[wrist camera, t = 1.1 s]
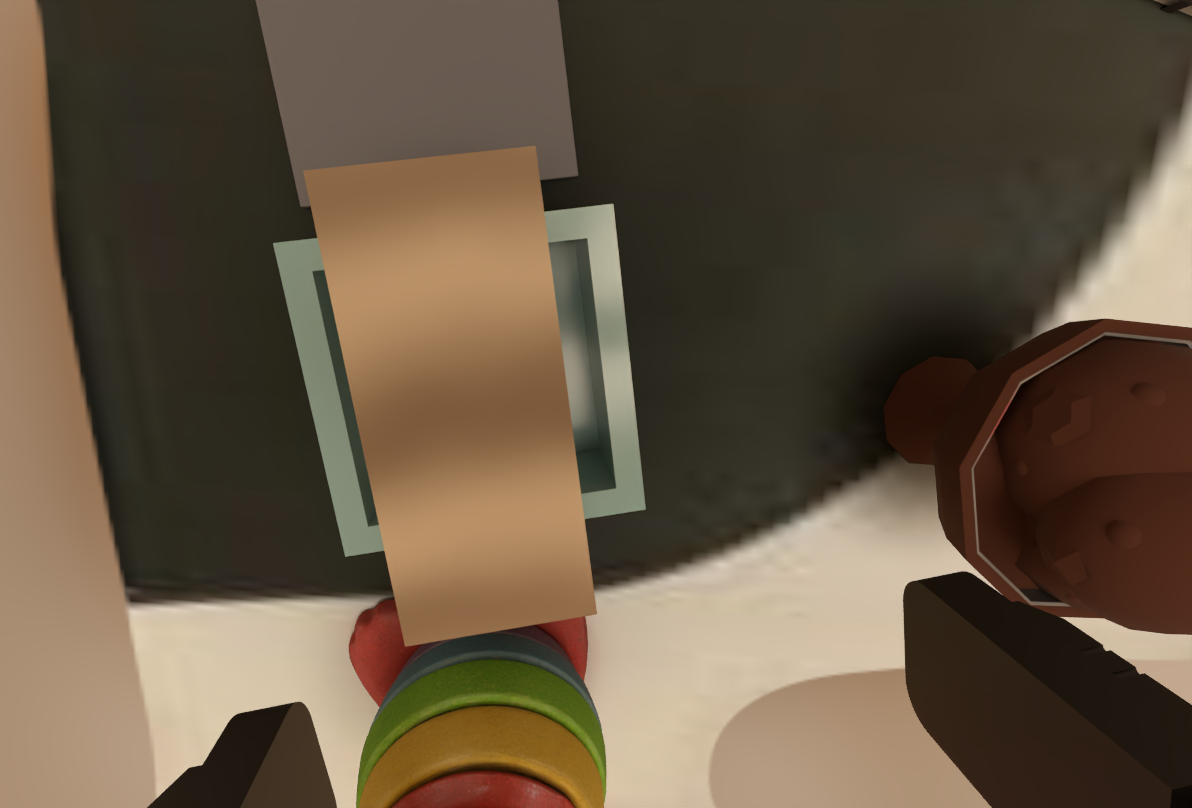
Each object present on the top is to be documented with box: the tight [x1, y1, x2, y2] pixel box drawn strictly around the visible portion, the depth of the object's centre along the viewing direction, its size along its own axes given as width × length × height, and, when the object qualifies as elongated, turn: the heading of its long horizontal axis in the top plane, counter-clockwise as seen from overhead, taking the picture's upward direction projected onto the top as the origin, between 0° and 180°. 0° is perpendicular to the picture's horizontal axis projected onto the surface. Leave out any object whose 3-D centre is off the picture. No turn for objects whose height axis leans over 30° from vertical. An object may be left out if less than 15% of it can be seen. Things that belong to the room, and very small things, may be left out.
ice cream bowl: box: [883, 319, 1192, 635], centre depth 24 cm, size 11×11×15 cm
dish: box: [273, 204, 646, 557], centre depth 26 cm, size 11×11×6 cm
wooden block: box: [303, 146, 597, 647], centre depth 21 cm, size 14×6×4 cm, turn 7°
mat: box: [256, 0, 578, 208], centre depth 25 cm, size 12×11×1 cm
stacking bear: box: [349, 599, 606, 808], centre depth 23 cm, size 11×10×18 cm
